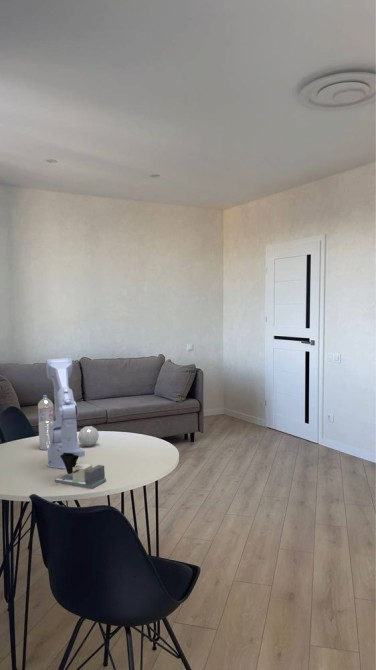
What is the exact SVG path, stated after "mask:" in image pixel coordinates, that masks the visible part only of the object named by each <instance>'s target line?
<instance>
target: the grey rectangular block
mask: <svg viewBox="0 0 376 670" xmlns="http://www.w3.org/2000/svg"><path fill="white" fill-rule="evenodd" d="M105 472H106V471H105V465H103V464H98V465H96V466H94V467H93V466H92V468H91V469H89V470H87V471H85V484H86V485H93V484H95V483H96V482H98V481H100V480H102V479H104V478H106V476H105V474H106V473H105Z"/></svg>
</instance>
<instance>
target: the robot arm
mask: <svg viewBox="0 0 376 670" xmlns="http://www.w3.org/2000/svg"><path fill="white" fill-rule="evenodd" d="M45 367H46V377H47V379H48V380H50V381H51V382H52V384H53V395H54V396H53V398H54V412H55V414H54V415H55V420H54V422H53V423H52V424H51V425H50V427H49V439H50V443H51V444H50V446H49V447H48V450H47V465H46V467H47V468H55V469H61V470H66V474H71V473H73V467H75V466H77V465H78V462H77V461H78V459H79V458H83V457H85V456H86V454H85V453H86V452H85V450H83V449H81V448H80V445H78V426H77V425H78V424H77V419H78V418H79V408H78V405H77V403H76V400H75V398H74V391H73V390H72V388H71V387H70V386H69V378H71V375H72V372H73V360H72V358H71V357H61V358H47V359H46V362H45Z"/></svg>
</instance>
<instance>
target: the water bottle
mask: <svg viewBox="0 0 376 670" xmlns="http://www.w3.org/2000/svg"><path fill="white" fill-rule="evenodd" d="M37 408H38V410H37V411H38V412H37V413H38V439H39V441H38V442H39V450H41V451H48V447H49V446H50V444H51V443H50V439H49V427H50V425H51V424H52V423H53V422H54V421H55V420H54V403H53V401H52V400H51V399H49V398H48V395H47V394H43V395H42V399H41V400H40V401H39V402H38V403H37Z"/></svg>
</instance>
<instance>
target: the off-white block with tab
mask: <svg viewBox="0 0 376 670" xmlns="http://www.w3.org/2000/svg"><path fill="white" fill-rule="evenodd" d="M91 468H93V465H92V464H87V463H79V464H76V465H75V467H73V480H75V481H82V482H85V471H87V470H89V469H91Z"/></svg>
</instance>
